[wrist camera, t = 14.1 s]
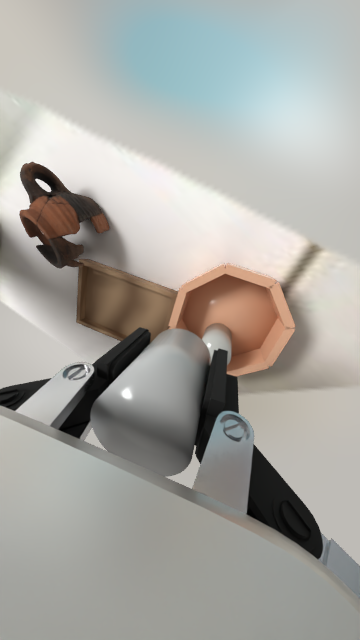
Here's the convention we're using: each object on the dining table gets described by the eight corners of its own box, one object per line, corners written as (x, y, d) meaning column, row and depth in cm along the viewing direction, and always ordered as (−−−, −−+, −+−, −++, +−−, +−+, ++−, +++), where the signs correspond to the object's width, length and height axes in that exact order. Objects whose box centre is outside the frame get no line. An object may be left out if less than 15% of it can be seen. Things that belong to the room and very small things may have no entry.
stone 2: (207, 320, 26) (201, 335, 21) (235, 327, 25) (235, 345, 20) (201, 343, 27) (194, 363, 22) (227, 350, 26) (226, 373, 21)
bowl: (169, 338, 29) (160, 351, 25) (196, 252, 24) (190, 251, 20) (252, 371, 27) (255, 391, 24) (302, 286, 22) (318, 294, 18)
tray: (84, 318, 33) (76, 322, 31) (87, 258, 28) (79, 259, 26) (162, 351, 31) (159, 357, 29) (180, 292, 26) (177, 295, 24)
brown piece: (124, 247, 26) (74, 271, 22) (97, 256, 33) (54, 276, 28) (73, 144, 21) (-10, 146, 16) (52, 179, 27) (-12, 188, 22)
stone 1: (153, 321, 11) (88, 375, 6) (217, 337, 10) (203, 415, 5) (148, 373, 12) (92, 451, 7) (203, 391, 12) (182, 491, 7)
